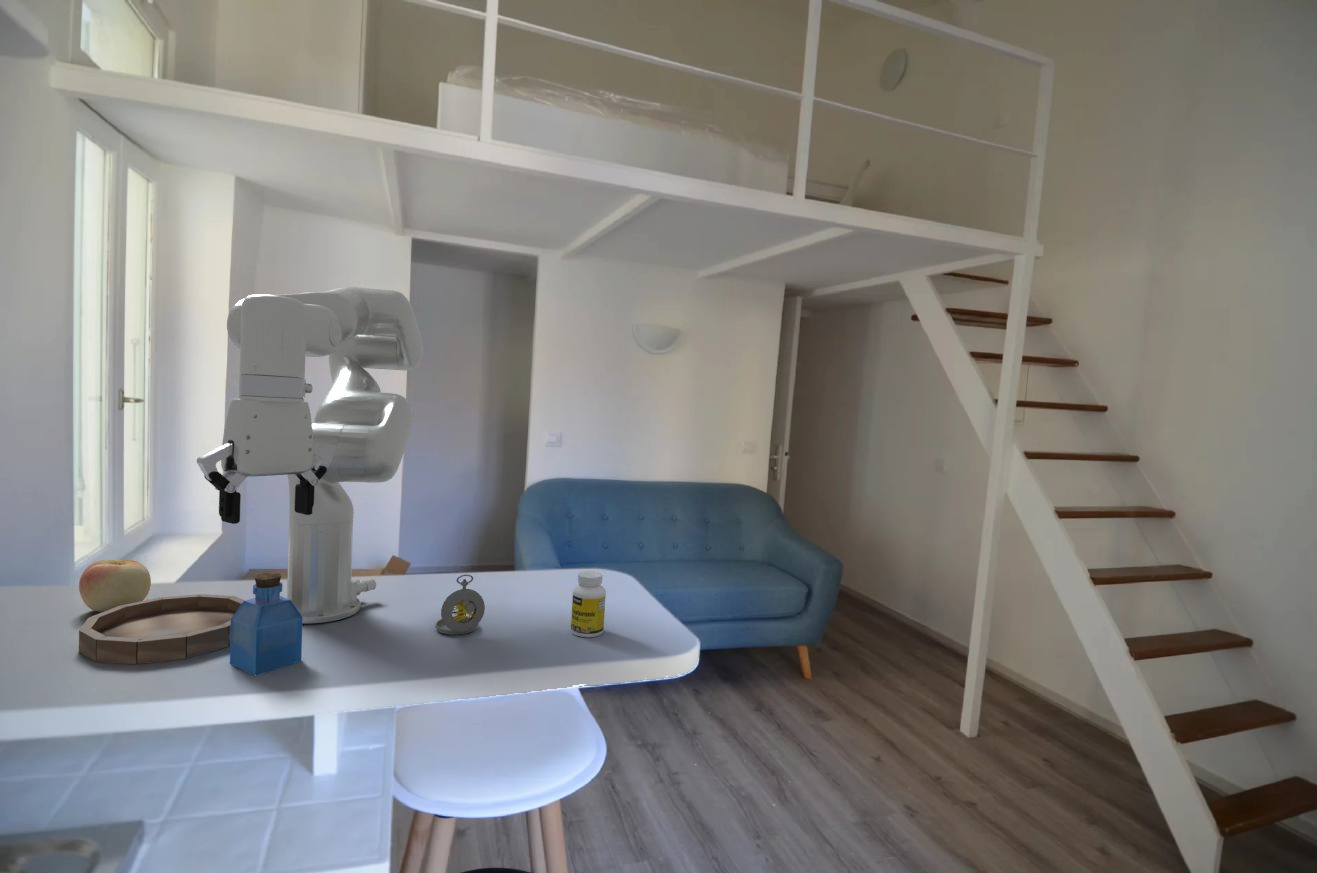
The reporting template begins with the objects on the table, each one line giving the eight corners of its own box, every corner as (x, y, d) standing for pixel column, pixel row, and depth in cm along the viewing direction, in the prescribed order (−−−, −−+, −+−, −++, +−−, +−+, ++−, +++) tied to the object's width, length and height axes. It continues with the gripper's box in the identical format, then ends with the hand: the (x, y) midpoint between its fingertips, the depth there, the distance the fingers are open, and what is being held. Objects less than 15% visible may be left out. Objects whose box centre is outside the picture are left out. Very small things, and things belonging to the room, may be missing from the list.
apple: (68, 612, 104) (68, 561, 104) (132, 597, 112) (133, 551, 112) (98, 623, 100) (98, 571, 100) (162, 607, 108) (163, 559, 108)
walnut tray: (210, 604, 111) (210, 587, 111) (279, 632, 101) (279, 613, 101) (56, 639, 94) (56, 618, 93) (121, 676, 84) (121, 653, 83)
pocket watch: (455, 619, 111) (458, 560, 111) (495, 630, 108) (498, 569, 107) (418, 634, 104) (421, 571, 103) (459, 645, 100) (462, 580, 100)
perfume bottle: (301, 661, 92) (303, 575, 91) (255, 676, 86) (257, 585, 85) (276, 650, 95) (277, 567, 94) (229, 663, 89) (231, 576, 89)
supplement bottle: (564, 634, 107) (567, 575, 107) (580, 624, 112) (583, 567, 112) (594, 640, 105) (597, 580, 105) (609, 630, 110) (612, 572, 110)
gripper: (316, 392, 97) (313, 507, 98) (185, 385, 82) (182, 521, 83) (349, 394, 94) (344, 514, 94) (217, 388, 79) (213, 530, 79)
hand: (268, 517), depth 89 cm, fingers open, 9 cm apart
